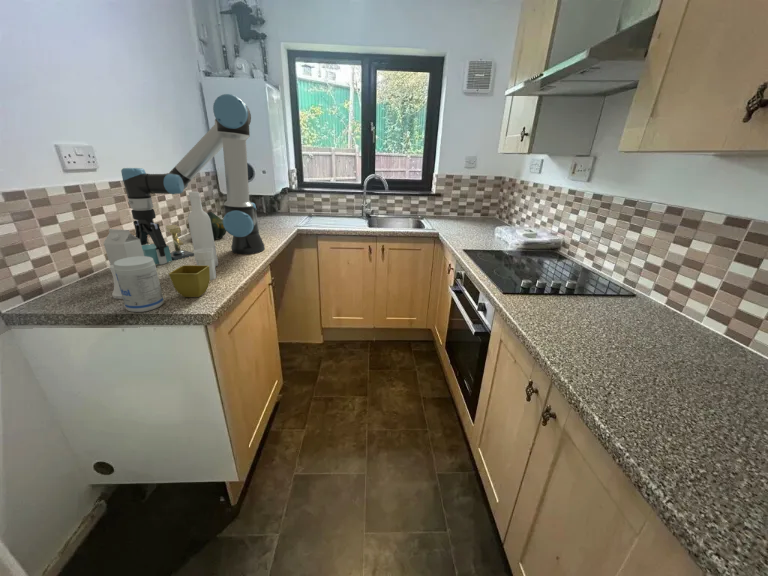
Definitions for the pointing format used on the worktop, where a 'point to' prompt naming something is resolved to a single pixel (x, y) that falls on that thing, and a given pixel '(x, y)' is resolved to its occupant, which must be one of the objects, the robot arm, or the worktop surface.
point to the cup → (206, 259)
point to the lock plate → (180, 254)
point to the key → (175, 235)
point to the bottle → (200, 226)
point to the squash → (217, 226)
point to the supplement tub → (139, 283)
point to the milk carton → (122, 245)
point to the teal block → (151, 252)
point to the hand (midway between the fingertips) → (155, 261)
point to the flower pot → (191, 280)
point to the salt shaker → (115, 285)
